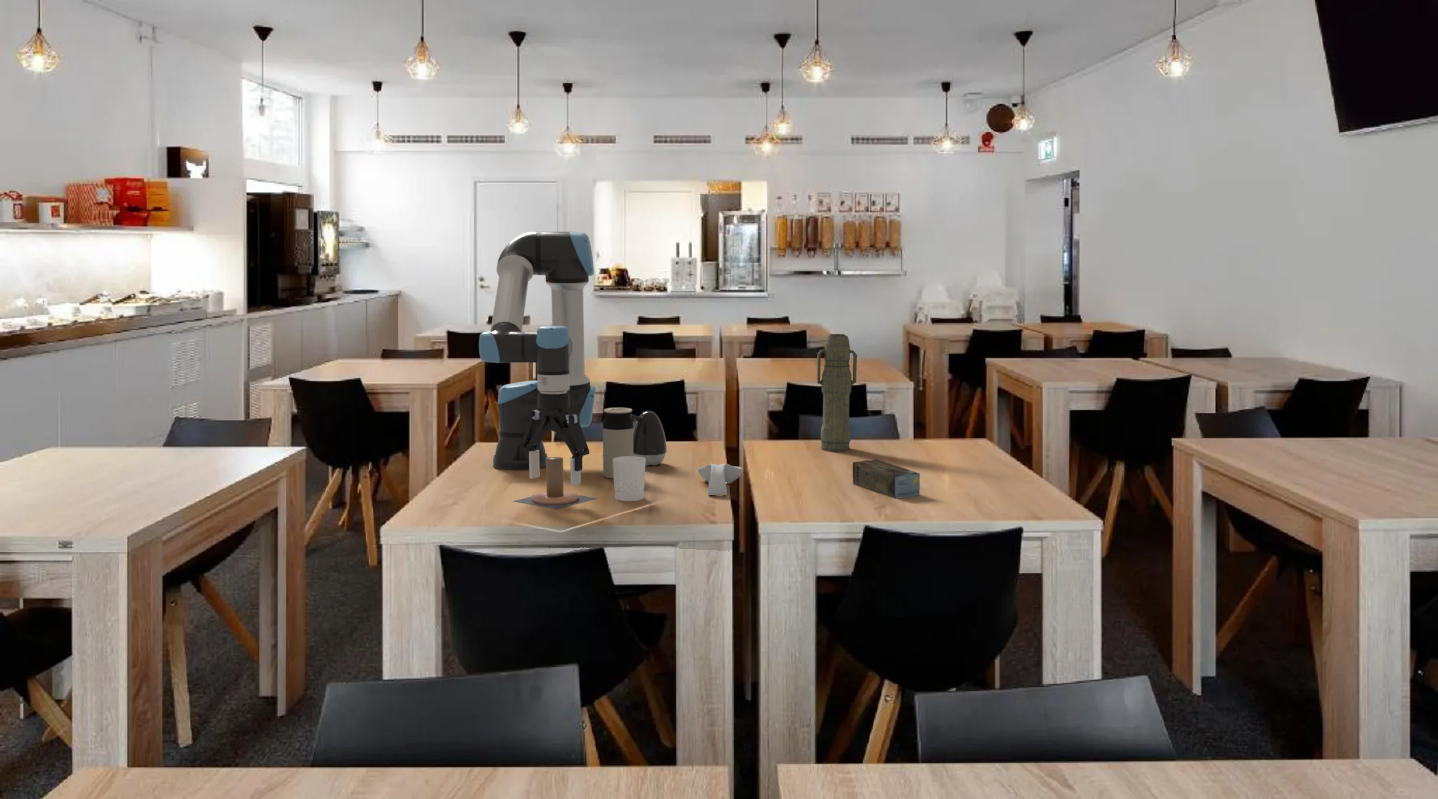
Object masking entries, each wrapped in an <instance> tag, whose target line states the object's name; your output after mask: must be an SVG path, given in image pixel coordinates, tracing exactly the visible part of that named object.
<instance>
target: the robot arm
mask: <svg viewBox="0 0 1438 799" xmlns="http://www.w3.org/2000/svg"><path fill="white" fill-rule="evenodd" d="M496 263H497V264H496V273H497V276H498V283H497V286H496V287H497V288H496V295H495V301H494V308H493V314H492V319H491V327H490V330H488V331H482V332H481V333H480V334H479V340H478V349H479V350H478V352H479V357H480V360H481V361H482V362H484V363H494V364H495V363H496V364H507V363H509V364H510V363H512V364H513V363H514V364H515V363H516V364H517V363H537V364H536V366H537V369H536V370H537V372H536V373H537V378H536V379H537V380H526V381H518V382H513V383H508V384H504V385H503V386H501V387H500V388H499V389H498V394H497V397H498V398H497V405H498V406H497V408H498V412H497V413H498V441H497V444H496V448H495V452H494V453H495V454H494V455H493V457H492V467H494V468H496V469H501V470H511V471H515V470H517V471H518V470H520V471H523V470H524V471H525V470H529V471H528V472H529V474H528V475H529V479H531V480H532V479H535V478H536V479H537V478H540V476H541V475H540V469H541V468H543V467H546V458H549V457H548V456H549V455H548V454H547V453H546V448H545V446H544V441H543V439H544V437H545V436H546V434H547V433H548V432H550V431H552V432H553V433H554V432H555V433H558V434H559V436H561V438H562V440H563V441H564V443H565V445H566V447H567V448H568V450H569V452H570V453H571V455H572V456H571V457H570V459H569V460H570V461H569V462H570V465H569V466H570V467H569V468H570V486H576V485H580V484H582V483H581V480H582V478H581V475H582V474H581V473H582V472H581V471H582V470H583V458H584V456H587V455H590V448H589V447H588V444H587V440H586V436H585V435H584V432H583V429H582V428H587V427H588V426H589V427H590V425H591V423H592V421H593V420H592V419H593V412H594V405H595V404H594V403H595V397H596V386H595V385H592V384H591V379H590V378H589V376H588V375H586V374H585V331H584V329H585V328H584V327H585V325H584V324H585V322H584V319H585V318H584V314H585V313H584V287H586V285H588V284H589V280H590V278H589V276H590V277H592V276H594V275H595V268H594V257H593V252H592V245H591V241H590V237H589V236H588V234H586V233H585V232H579V231H529V232H528V231H527V232H525V233H522V234H519V235H518V236H517V237H515V238H514V239H512V240H511V241H510V242H508V244H507V245H506V246H505V247H504V248H503V250H502V251H501V253H500V255H499V257H498V259H497V262H496ZM533 276H545V283H546V284H547V285H548V286H549V287H550V288H551V324H552V325H543V326H539V327H538V328H537V330H536V331H523V326H524V325H523V324H524V318H525V311H526V310H525V308H526V301H527V295H528V287H529V286H528V285H529V282H530V281H531V279H532V278H533Z"/></svg>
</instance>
